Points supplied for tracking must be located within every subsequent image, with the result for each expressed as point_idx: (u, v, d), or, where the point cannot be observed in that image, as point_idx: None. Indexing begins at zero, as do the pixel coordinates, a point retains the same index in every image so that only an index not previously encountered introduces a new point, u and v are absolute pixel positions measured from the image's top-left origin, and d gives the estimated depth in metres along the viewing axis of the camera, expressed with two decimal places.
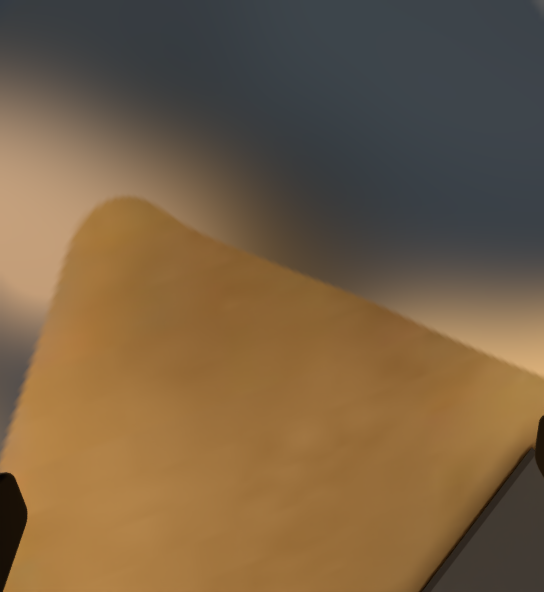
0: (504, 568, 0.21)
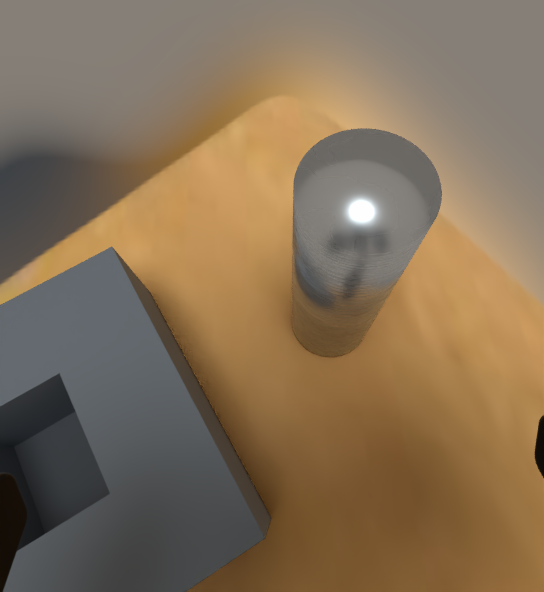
0: None
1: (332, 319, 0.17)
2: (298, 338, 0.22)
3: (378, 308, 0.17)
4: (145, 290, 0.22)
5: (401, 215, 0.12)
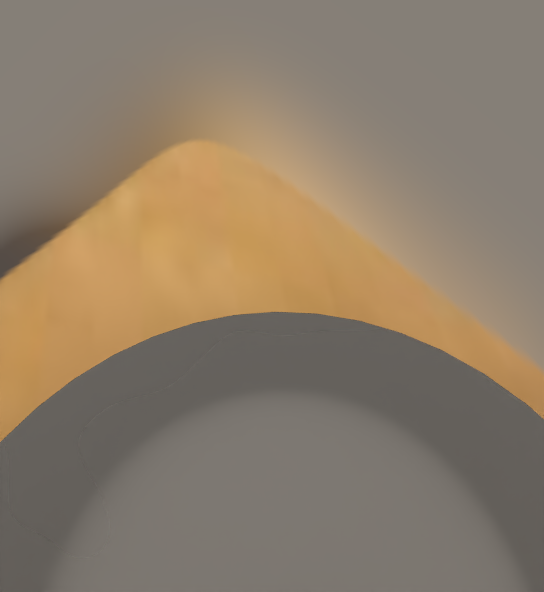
0: None
1: None
2: None
3: None
4: None
5: None
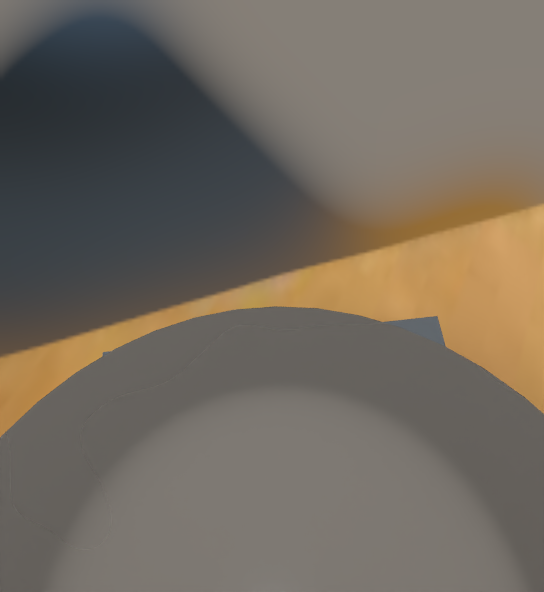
0: None
1: None
2: None
3: None
4: None
5: None
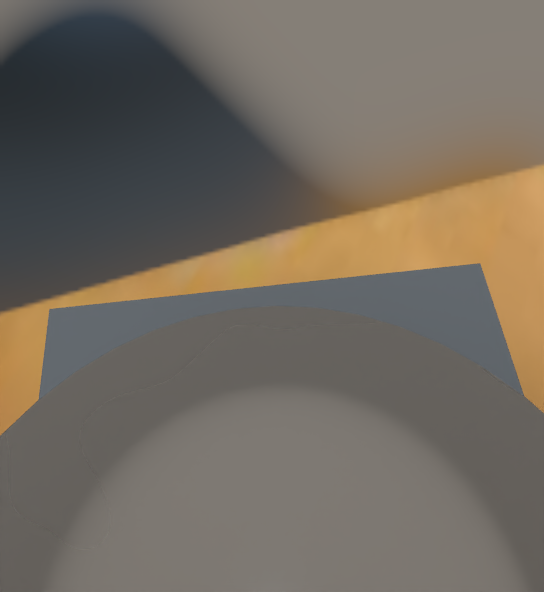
0: None
1: None
2: None
3: None
4: None
5: None
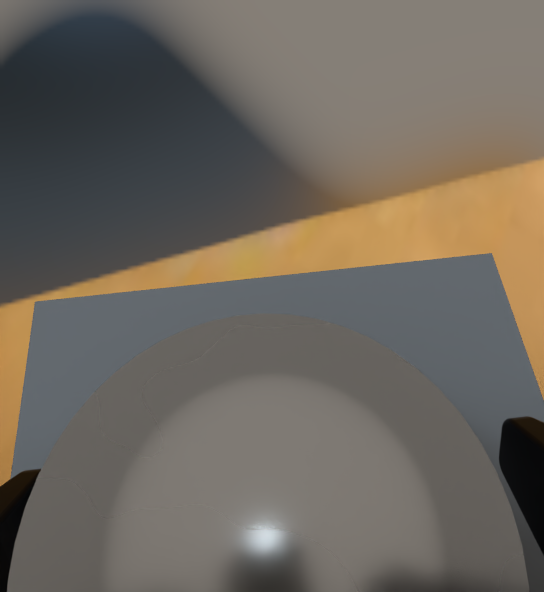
0: None
1: None
2: None
3: None
4: None
5: None
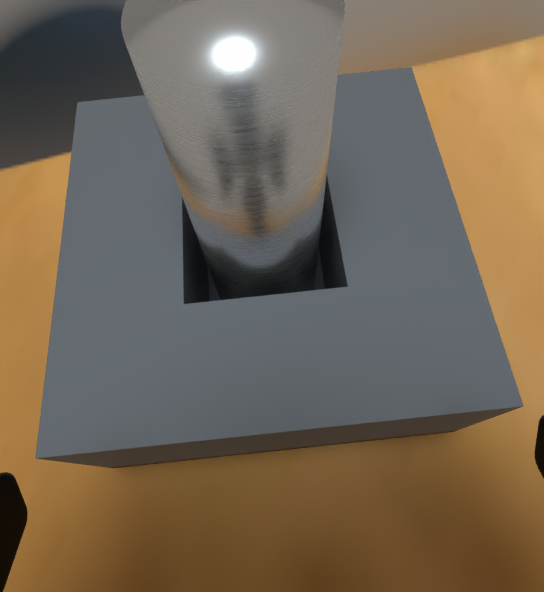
0: None
1: (245, 262, 0.12)
2: None
3: (305, 242, 0.12)
4: None
5: (283, 36, 0.07)
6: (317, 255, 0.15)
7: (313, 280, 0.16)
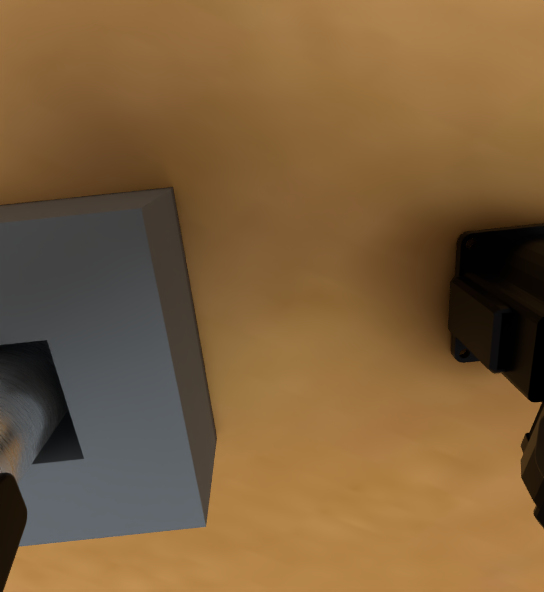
0: None
1: (40, 437, 0.15)
2: None
3: (11, 393, 0.14)
4: None
5: None
6: (16, 344, 0.16)
7: None
